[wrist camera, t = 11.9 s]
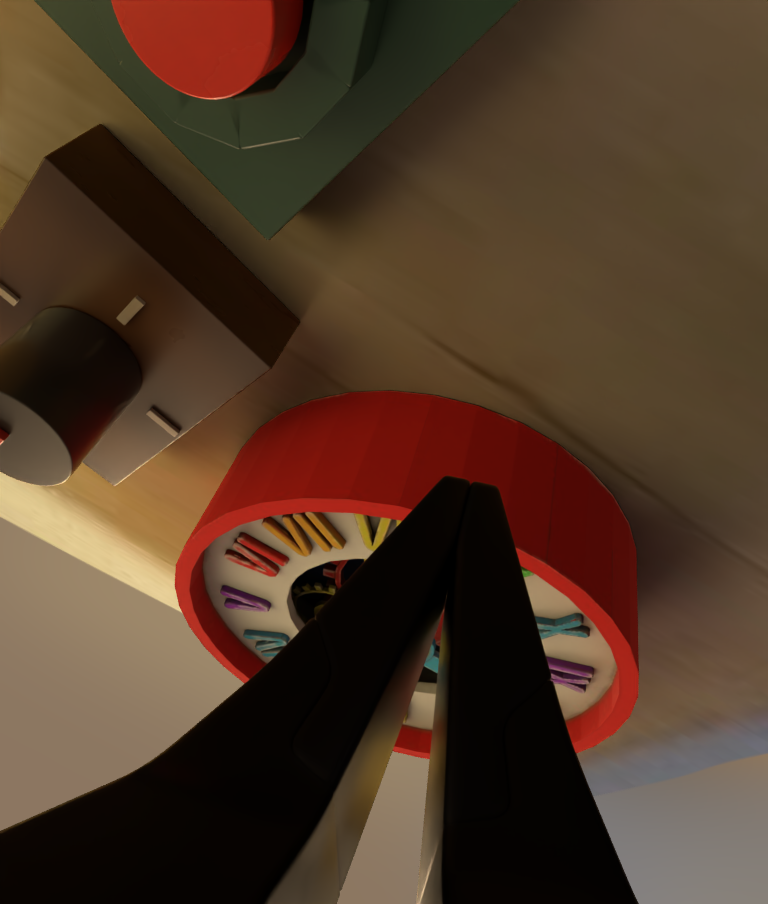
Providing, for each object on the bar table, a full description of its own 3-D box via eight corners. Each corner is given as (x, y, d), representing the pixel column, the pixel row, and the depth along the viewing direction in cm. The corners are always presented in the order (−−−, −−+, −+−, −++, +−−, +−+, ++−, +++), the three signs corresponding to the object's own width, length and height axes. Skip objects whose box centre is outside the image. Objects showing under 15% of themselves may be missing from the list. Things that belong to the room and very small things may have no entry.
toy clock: (281, 400, 19) (764, 697, 23) (340, 298, 23) (742, 567, 28) (127, 630, 33) (448, 792, 37) (181, 540, 37) (465, 696, 41)
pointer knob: (163, 373, 24) (89, 464, 21) (108, 420, 27) (35, 508, 23) (59, 284, 22) (-39, 367, 19) (12, 344, 25) (-82, 426, 22)
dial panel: (100, 122, 21) (40, 158, 19) (301, 321, 25) (270, 371, 22) (-21, 309, 28) (-74, 351, 26) (147, 442, 32) (112, 489, 30)
